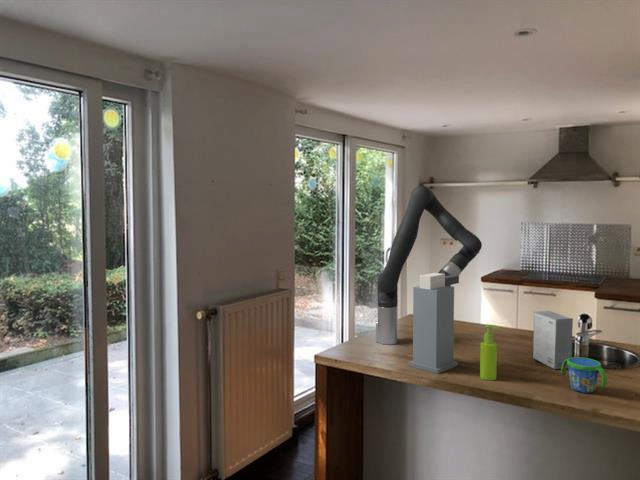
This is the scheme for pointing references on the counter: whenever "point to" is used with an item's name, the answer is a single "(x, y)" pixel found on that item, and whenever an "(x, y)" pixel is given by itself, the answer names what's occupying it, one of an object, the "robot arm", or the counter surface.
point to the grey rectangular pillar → (433, 329)
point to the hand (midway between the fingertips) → (423, 302)
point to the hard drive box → (552, 338)
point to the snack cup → (584, 373)
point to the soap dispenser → (488, 355)
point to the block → (437, 280)
